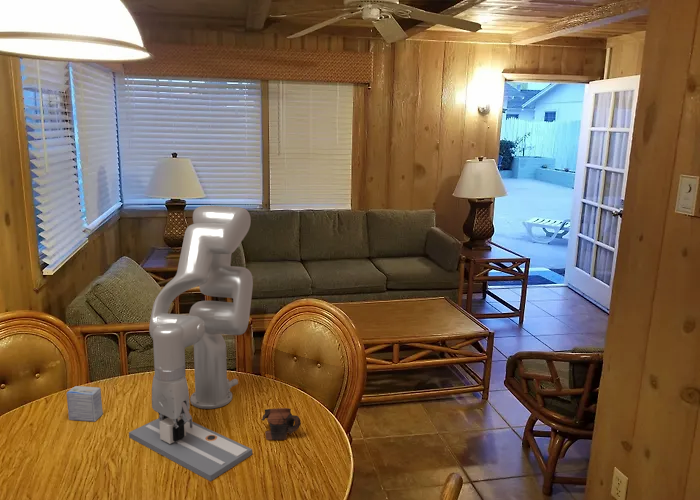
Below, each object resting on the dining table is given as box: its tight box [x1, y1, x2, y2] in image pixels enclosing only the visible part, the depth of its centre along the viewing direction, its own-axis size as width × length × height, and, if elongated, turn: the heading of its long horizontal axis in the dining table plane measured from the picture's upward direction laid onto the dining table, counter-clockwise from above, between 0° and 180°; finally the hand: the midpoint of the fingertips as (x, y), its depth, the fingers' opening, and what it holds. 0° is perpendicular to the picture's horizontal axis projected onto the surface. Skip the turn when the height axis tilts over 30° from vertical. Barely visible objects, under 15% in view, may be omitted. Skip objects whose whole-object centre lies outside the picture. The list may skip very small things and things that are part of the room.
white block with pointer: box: [159, 414, 193, 444], centre depth 148 cm, size 9×4×5 cm, turn 145°
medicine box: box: [66, 385, 104, 422], centre depth 158 cm, size 8×4×9 cm, turn 84°
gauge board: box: [128, 417, 253, 482], centre depth 146 cm, size 14×32×6 cm, turn 56°
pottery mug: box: [261, 407, 302, 441], centre depth 154 cm, size 12×10×8 cm
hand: (172, 435), depth 146 cm, fingers closed on white block with pointer, 4 cm apart
